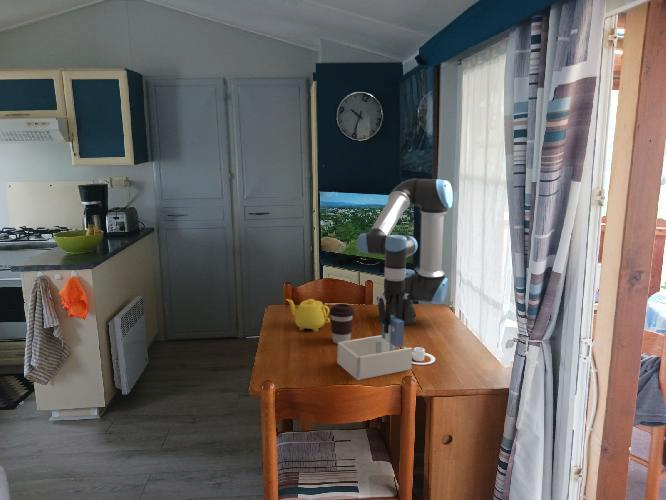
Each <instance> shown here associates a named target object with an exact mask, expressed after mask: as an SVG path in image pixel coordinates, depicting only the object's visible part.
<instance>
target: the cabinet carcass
mask: <svg viewBox="0 0 666 500" xmlns="http://www.w3.org/2000/svg"><path fill="white" fill-rule="evenodd" d="M336 344H337V347H336V348H337V349H336V350H337V351H336V353H337V356H336V357H337V358H336V359H337V360H336V362H337V364H338V365H339V366H341V368H343V369H344V370H345V371H346V372H347V373H349V375H351V376H352V377H353V378H354V379H355V380H357V381H360V380H365V379H369V378H370V379H371V378H374V377H379V376H384V375H389V374H394V373H399V372H406V371H410V370H412V369H413V368H412V364H413V363H412V362H413V355H412V352H413V348H412V347H407V346H402V348H401V349H396V346H394V345H392V344H391V343H389V342H387V341H386V340H385V339H383V338H382V334H381V335H375V336H369V337H368V336H367V337H362V338H355V339H350V340H349V341H343V342H338V343H336Z"/></svg>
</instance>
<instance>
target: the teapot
mask: <svg viewBox="0 0 666 500" xmlns="http://www.w3.org/2000/svg"><path fill="white" fill-rule="evenodd" d="M285 301H288V303H289V305H290V311H291V314H292V316H294V319H295V320H294V322H295V324H296V326H297V327H298V330H299V331H304V330H306V329H307V330H309V329H310V330H312V332H315V333H317V332H319V329H320V328H322V327H324V326H325V324H329V323H331V318H329V317H328V316H329V315H330V308H329V306H328V305H324V304H323V302H322V301H320V300H315V299H314V298H308V299H306V300H304V301H302V302H300V304H299V305H298V306H297V307H298V308H296V306H295V303H294V301H293V300H292V299H287V298H286V299H285Z"/></svg>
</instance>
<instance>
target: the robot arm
mask: <svg viewBox="0 0 666 500" xmlns="http://www.w3.org/2000/svg"><path fill="white" fill-rule="evenodd" d="M387 199H388V201H387V203H386V204H385V205H384V207H383V209H382V211H381V212H380V214H379V215H378V217H377V218H376V220H375V222H374V223H373V225H372V226H371V228H370V229H369V231H368V232H364V233H360V234H359V235H358V236H357V240H356V247H357V250H358V251H359V252H360V253H364V254H367V255H377V256H381V255H382V256H384V280H383V289H384V290H383V293H382V295H381V296H376V300H377V301H376V302H377V304H378V305H377V307H378V322H379V323H380V324H381V325H382V324H384V333H385V340H386V341H387V342H389V343H390V342H391V325H390V318H391V315H393V316H395V317H397V318H398V319H400V320H402V321H404V326H410V325H413V324H416V323H417V314H416V310H415V306H414V301H415V302H423V303H428V304H437V305H439V304H443V302H444V301H445V299H446V298H447V297H446V296H447V294H448V289H449V284H450V283H449V281H450V280H449V278H448V277H446V273H445V272H444V271H443V269H442V265H443V264H442V263H443V245H444V244H443V242H444V220H445V219H444V216H445V215H446V214H447V213H448V212H449V211H448V210H449V209H451V208H452V207H453V201H454V194H453V188H452V185H451V183H450V181H448V180H444V179H439V178H438V179H437V178H410V179H407V180H405V181H403V182H401V183H400V184H398V185H396V186H395V187H394V188H393V189H392V191H391V192H390V193H389V195H388V198H387ZM411 206H415V207H419V212H420V213H421V215H423V219H422V220H423V221H422V244H421V245H422V246H421V247H422V248H421V249H422V251H421V268H420V269H419V270H418V271H417V274H416V272H415V270H413V269H407V268H406V267H407V265H406V264H407V258H409V257H411V256H413V255H414V254H416V251H417V250H418V246H419V245H418V241H417V239H416V238H415V237H413V236H410V235H401V234H391V233H392V231H393V230H394V228H395V226H396V225H397V223H398V221H399V219H400V218H401V216H402V215H403V213H404V211H406V210H407V209H408V208H410V207H411Z"/></svg>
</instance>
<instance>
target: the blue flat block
mask: <svg viewBox="0 0 666 500" xmlns="http://www.w3.org/2000/svg"><path fill="white" fill-rule="evenodd" d="M390 325H391V342H390V343H391V344H392V345H394V346H395V348H397V347H404V336H405V335H404V331H405V325H404V321H402V320H400V319H398V318H397V317H395V316H393V315H391V318H390ZM381 326H382V327H381V335H382V338H383V339H385V333H384V324H382V323H381Z"/></svg>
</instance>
